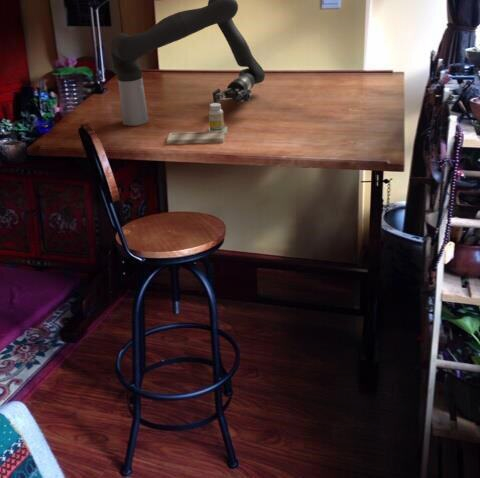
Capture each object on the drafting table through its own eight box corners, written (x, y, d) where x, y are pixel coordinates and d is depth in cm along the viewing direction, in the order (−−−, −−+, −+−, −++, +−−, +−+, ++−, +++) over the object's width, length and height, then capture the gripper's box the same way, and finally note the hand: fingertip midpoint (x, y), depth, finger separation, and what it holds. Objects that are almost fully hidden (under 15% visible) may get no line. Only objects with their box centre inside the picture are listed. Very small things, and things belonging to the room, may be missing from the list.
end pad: (207, 134, 227) (207, 133, 227) (209, 127, 233) (209, 127, 233) (226, 133, 227) (226, 133, 227) (227, 127, 233) (227, 126, 233)
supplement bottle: (217, 133, 227) (215, 107, 222) (206, 130, 230) (204, 105, 225) (227, 129, 230) (225, 103, 225) (216, 126, 233) (214, 101, 228)
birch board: (167, 144, 222) (166, 140, 221) (170, 137, 228) (169, 132, 227) (223, 142, 220) (222, 138, 219) (224, 135, 226) (224, 130, 225)
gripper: (221, 78, 248) (207, 90, 235) (256, 79, 244) (243, 91, 231) (223, 96, 252) (209, 109, 239) (257, 97, 248) (244, 111, 235)
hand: (225, 100), depth 235 cm, fingers open, 8 cm apart
